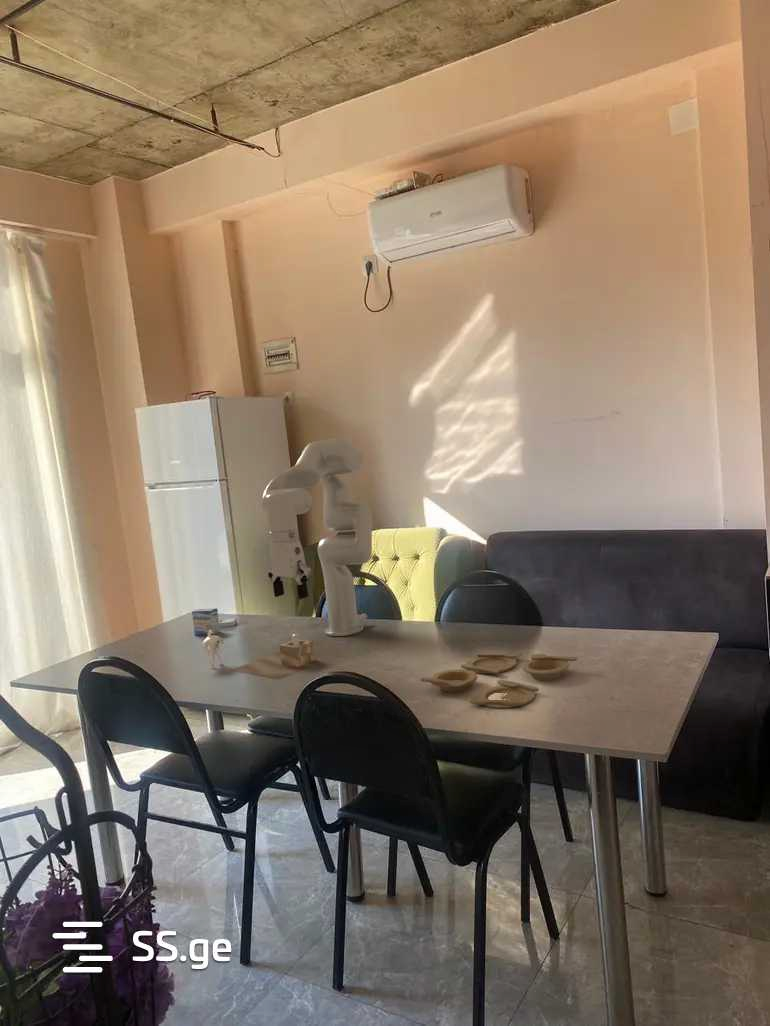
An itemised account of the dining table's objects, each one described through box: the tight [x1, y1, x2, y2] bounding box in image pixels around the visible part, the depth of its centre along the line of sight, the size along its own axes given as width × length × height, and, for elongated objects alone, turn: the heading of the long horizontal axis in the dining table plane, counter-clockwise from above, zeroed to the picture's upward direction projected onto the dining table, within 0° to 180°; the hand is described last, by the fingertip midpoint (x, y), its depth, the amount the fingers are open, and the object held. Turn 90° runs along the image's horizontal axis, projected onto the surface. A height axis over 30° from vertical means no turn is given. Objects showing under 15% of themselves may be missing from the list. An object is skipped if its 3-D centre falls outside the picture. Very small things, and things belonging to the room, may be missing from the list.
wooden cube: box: [279, 638, 316, 667], centre depth 212 cm, size 7×7×6 cm
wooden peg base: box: [230, 633, 326, 680], centre depth 212 cm, size 18×20×10 cm
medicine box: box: [191, 608, 221, 636], centre depth 264 cm, size 8×4×9 cm, turn 73°
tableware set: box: [420, 652, 578, 709], centre depth 184 cm, size 35×29×4 cm
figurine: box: [201, 630, 224, 669], centre depth 217 cm, size 7×4×12 cm, turn 138°
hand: (291, 596), depth 211 cm, fingers open, 9 cm apart
